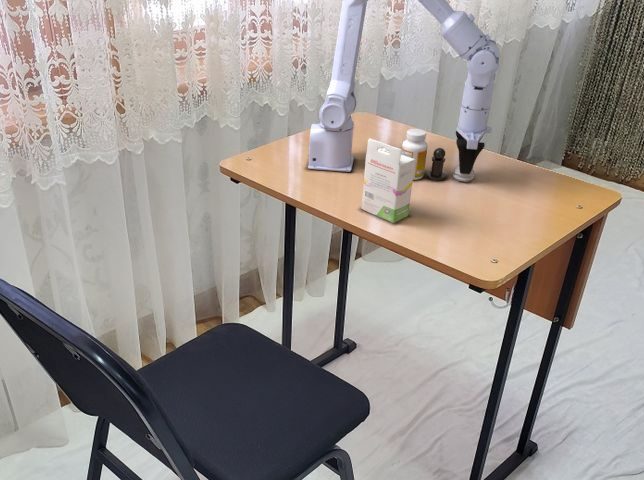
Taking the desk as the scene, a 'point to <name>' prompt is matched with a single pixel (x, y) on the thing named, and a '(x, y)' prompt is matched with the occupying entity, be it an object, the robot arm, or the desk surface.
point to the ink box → (387, 181)
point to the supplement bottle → (416, 150)
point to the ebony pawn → (437, 166)
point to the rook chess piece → (463, 175)
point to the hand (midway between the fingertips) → (464, 169)
